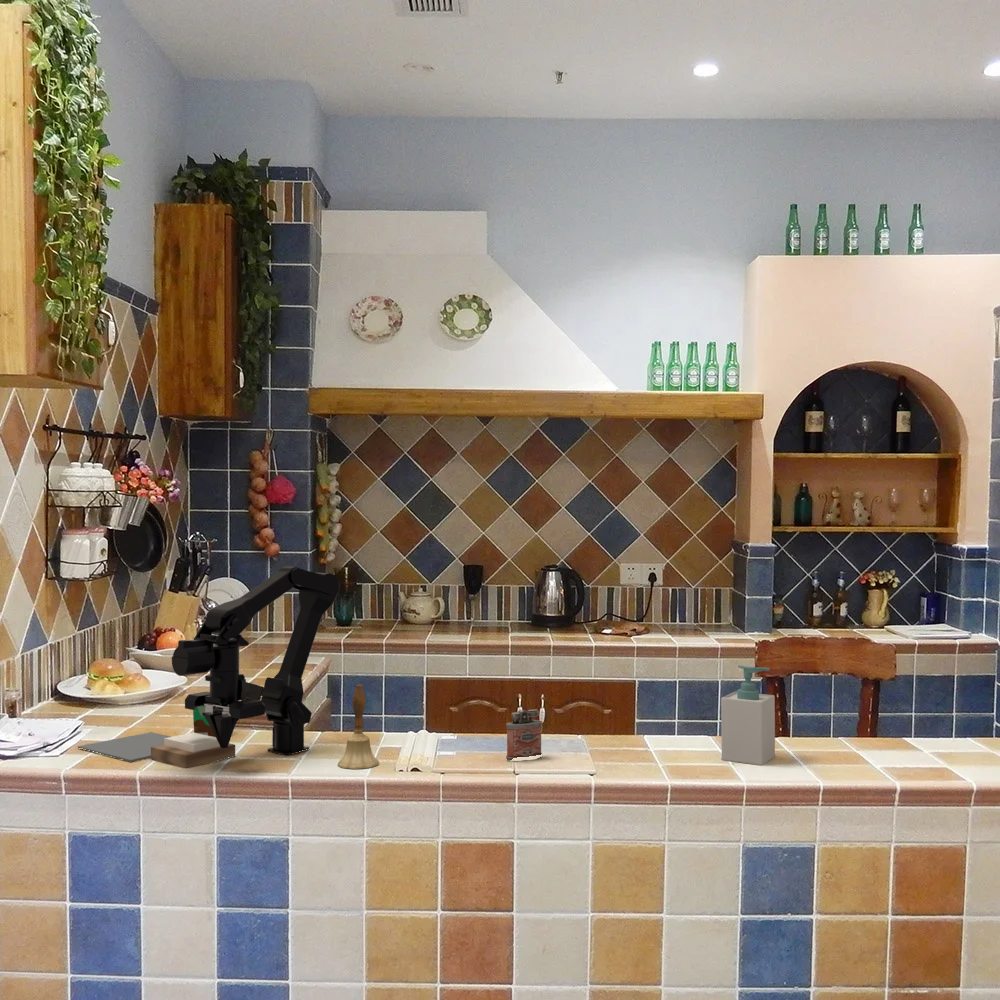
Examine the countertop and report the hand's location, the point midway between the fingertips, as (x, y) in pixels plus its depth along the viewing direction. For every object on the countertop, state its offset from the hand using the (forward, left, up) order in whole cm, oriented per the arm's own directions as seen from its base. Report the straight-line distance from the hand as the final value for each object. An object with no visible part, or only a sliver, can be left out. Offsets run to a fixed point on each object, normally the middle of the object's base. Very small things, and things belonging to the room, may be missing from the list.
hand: (224, 747), depth 200 cm
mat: (+27, +1, -4) cm, 27 cm away
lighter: (-45, -41, -4) cm, 61 cm away
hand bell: (-21, -17, -4) cm, 27 cm away
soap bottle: (-82, -69, -4) cm, 107 cm away
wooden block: (+10, 0, -4) cm, 11 cm away
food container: (+24, -16, -4) cm, 29 cm away
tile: (+10, 0, -1) cm, 10 cm away
